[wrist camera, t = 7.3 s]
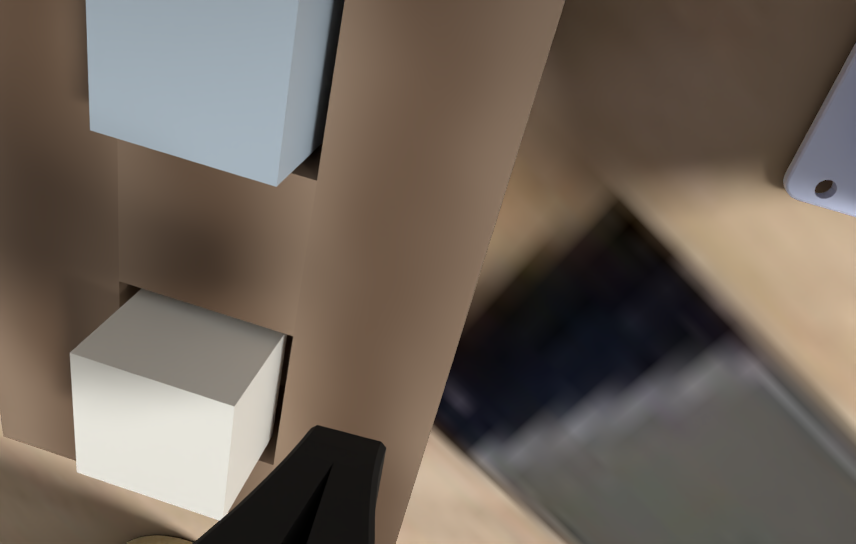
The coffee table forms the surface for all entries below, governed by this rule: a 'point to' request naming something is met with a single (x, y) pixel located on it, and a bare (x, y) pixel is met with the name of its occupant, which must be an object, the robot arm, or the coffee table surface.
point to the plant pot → (158, 540)
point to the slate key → (215, 79)
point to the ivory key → (175, 401)
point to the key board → (273, 222)
